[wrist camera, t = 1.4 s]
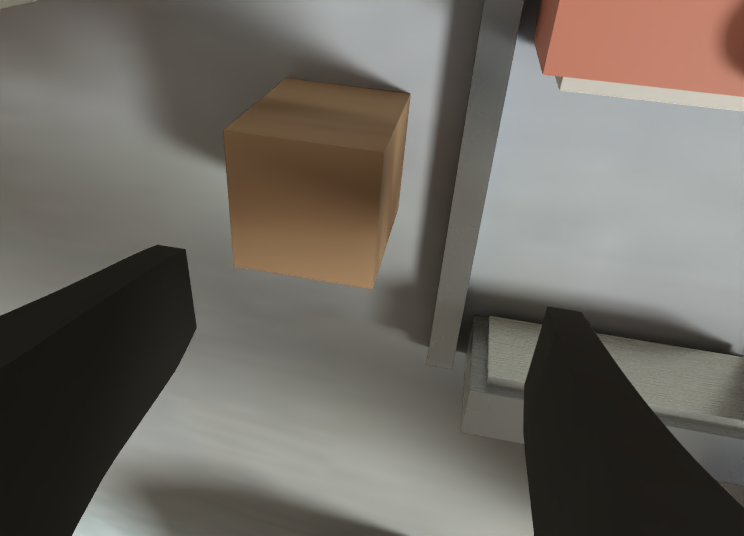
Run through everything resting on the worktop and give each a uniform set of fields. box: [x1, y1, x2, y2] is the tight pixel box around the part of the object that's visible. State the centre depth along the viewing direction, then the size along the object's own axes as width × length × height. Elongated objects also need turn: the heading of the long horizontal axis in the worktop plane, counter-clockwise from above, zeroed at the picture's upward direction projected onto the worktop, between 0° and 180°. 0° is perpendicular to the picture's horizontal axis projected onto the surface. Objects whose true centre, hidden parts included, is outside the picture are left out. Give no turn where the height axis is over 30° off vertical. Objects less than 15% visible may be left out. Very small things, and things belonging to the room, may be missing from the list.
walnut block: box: [223, 78, 411, 289], centre depth 17 cm, size 4×4×5 cm
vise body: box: [426, 0, 744, 486], centre depth 16 cm, size 17×13×4 cm
